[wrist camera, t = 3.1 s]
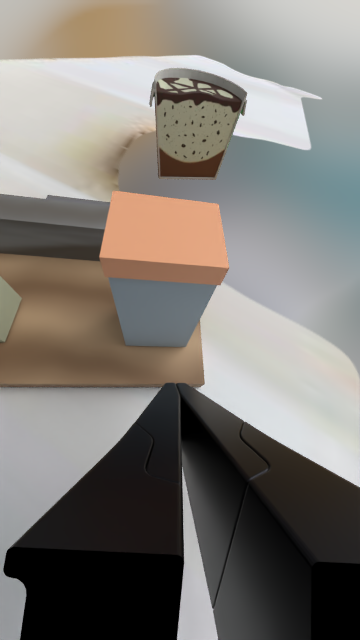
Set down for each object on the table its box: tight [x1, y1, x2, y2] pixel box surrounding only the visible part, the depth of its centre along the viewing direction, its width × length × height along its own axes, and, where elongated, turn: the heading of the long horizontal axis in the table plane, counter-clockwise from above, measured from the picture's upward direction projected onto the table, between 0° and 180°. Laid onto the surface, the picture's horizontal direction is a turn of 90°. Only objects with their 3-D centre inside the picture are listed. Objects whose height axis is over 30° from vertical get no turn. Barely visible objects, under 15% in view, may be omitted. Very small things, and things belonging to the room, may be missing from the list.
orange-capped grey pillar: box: [99, 191, 229, 347], centre depth 14 cm, size 4×5×10 cm
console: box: [0, 194, 205, 387], centre depth 17 cm, size 15×22×6 cm
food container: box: [149, 68, 247, 180], centre depth 29 cm, size 12×6×10 cm, turn 103°
